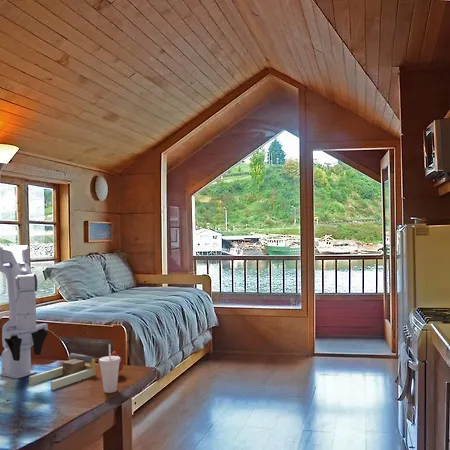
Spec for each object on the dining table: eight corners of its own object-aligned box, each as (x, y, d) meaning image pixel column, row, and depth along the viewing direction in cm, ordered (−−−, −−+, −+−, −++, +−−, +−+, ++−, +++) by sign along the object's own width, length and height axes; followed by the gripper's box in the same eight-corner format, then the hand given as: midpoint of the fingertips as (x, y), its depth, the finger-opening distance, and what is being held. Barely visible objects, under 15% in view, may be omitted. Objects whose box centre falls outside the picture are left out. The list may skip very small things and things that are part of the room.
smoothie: (101, 395, 152) (100, 347, 152) (97, 389, 158) (96, 343, 158) (123, 392, 154) (122, 344, 154) (118, 386, 160) (117, 340, 160)
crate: (62, 377, 172) (61, 362, 172) (75, 373, 176) (74, 358, 176) (72, 379, 169) (72, 364, 169) (85, 375, 173) (85, 360, 173)
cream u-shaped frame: (29, 384, 165) (28, 364, 165) (72, 370, 179) (72, 352, 179) (53, 389, 159) (52, 369, 158) (96, 374, 173) (96, 356, 173)
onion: (119, 378, 168) (118, 354, 168) (102, 378, 169) (101, 353, 169) (126, 373, 174) (125, 349, 174) (109, 373, 175) (109, 349, 175)
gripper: (14, 318, 153) (15, 364, 153) (53, 310, 165) (54, 353, 165) (-2, 316, 157) (-1, 361, 157) (39, 309, 169) (39, 351, 169)
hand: (27, 357), depth 161 cm, fingers open, 7 cm apart
